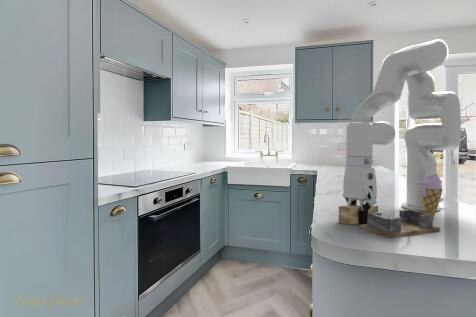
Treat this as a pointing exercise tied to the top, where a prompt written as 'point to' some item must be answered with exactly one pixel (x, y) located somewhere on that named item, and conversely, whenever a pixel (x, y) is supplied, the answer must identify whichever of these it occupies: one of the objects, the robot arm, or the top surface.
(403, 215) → the rail
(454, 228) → the top surface
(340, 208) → the beige rectangular block
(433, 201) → the ice cream cone
